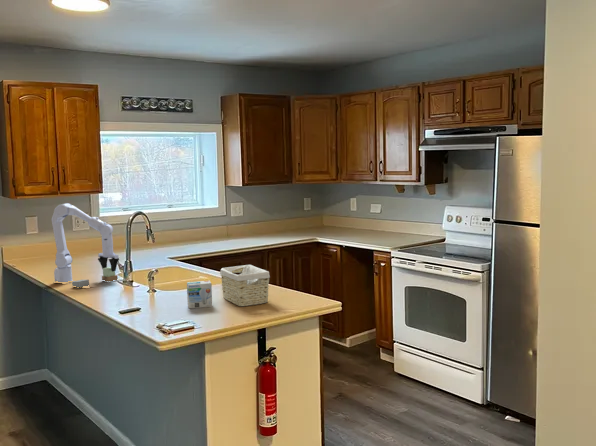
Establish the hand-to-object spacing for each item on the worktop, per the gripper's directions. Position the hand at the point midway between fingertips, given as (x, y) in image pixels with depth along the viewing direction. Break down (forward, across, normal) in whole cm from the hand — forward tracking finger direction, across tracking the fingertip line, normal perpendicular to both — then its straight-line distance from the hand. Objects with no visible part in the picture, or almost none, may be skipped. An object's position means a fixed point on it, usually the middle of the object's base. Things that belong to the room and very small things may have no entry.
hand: (109, 270), depth 325 cm
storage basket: (+6, -97, +2) cm, 97 cm away
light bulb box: (+6, -85, +19) cm, 87 cm away
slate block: (+6, +1, +18) cm, 19 cm away
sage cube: (+3, 0, 0) cm, 3 cm away
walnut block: (+6, 0, 0) cm, 6 cm away
